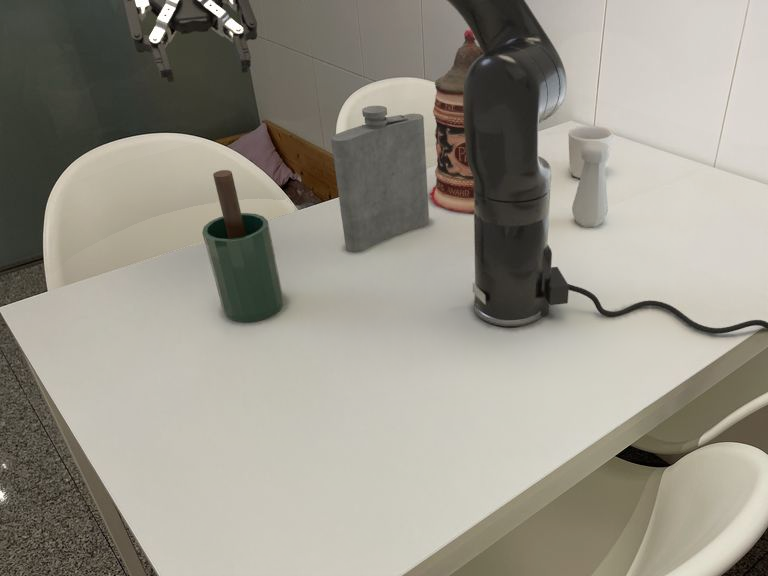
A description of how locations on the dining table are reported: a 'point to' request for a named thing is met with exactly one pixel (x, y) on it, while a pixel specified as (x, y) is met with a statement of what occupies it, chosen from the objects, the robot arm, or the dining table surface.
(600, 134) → the cup
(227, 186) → the bottle brush
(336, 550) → the dining table surface
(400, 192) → the hip flask
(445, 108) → the beer stein
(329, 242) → the dining table surface
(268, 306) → the green cylindrical holder
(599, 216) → the salt shaker
